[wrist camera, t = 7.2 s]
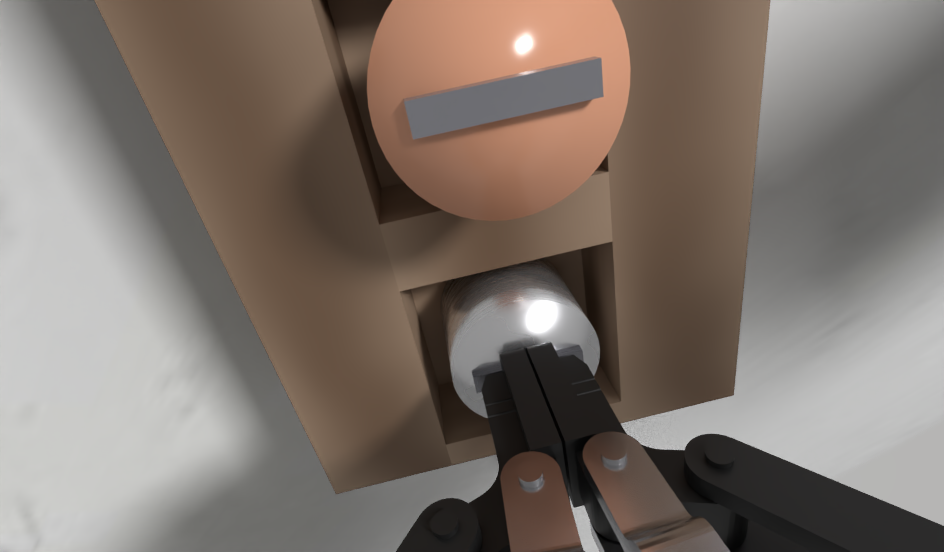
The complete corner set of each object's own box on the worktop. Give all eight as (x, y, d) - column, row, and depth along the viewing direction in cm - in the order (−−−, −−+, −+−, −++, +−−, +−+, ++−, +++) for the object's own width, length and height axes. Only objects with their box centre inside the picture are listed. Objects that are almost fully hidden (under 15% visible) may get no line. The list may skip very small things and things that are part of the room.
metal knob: (556, 232, 17) (598, 289, 13) (568, 337, 19) (607, 409, 15) (427, 262, 17) (437, 328, 13) (454, 365, 19) (469, 444, 15)
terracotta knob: (555, -61, 10) (635, -96, 7) (573, 146, 13) (640, 196, 9) (348, -17, 10) (326, -31, 7) (401, 185, 12) (405, 251, 9)
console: (644, -601, 11) (878, -1169, 6) (653, 305, 23) (733, 395, 17) (1, -489, 10) (-393, -995, 5) (349, 379, 22) (336, 493, 17)
